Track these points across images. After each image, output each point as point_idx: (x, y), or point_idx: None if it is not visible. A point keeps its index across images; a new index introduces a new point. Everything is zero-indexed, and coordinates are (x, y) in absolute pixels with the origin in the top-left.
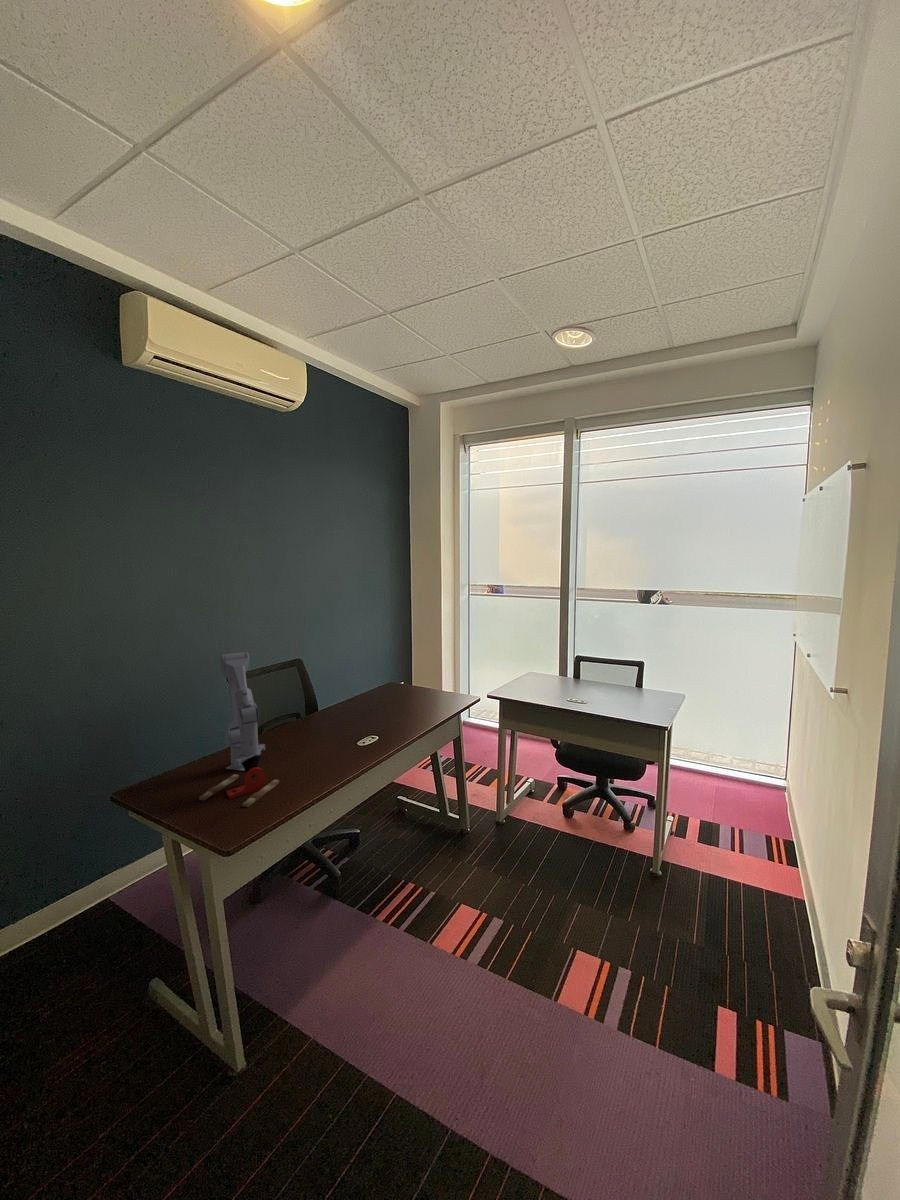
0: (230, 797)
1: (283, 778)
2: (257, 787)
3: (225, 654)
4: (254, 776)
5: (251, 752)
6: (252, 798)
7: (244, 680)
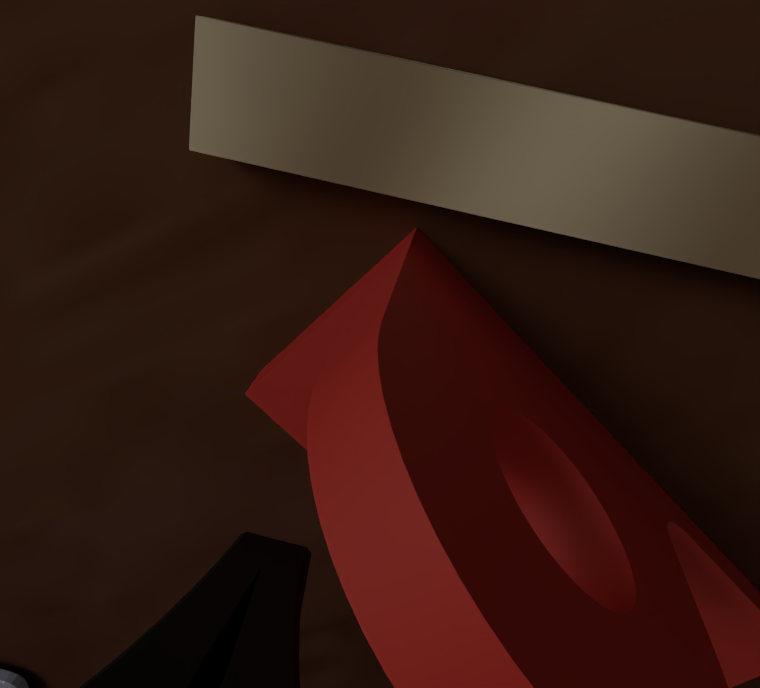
0: None
1: (30, 15)
2: (517, 355)
3: None
4: (254, 534)
5: None
6: None
7: None
